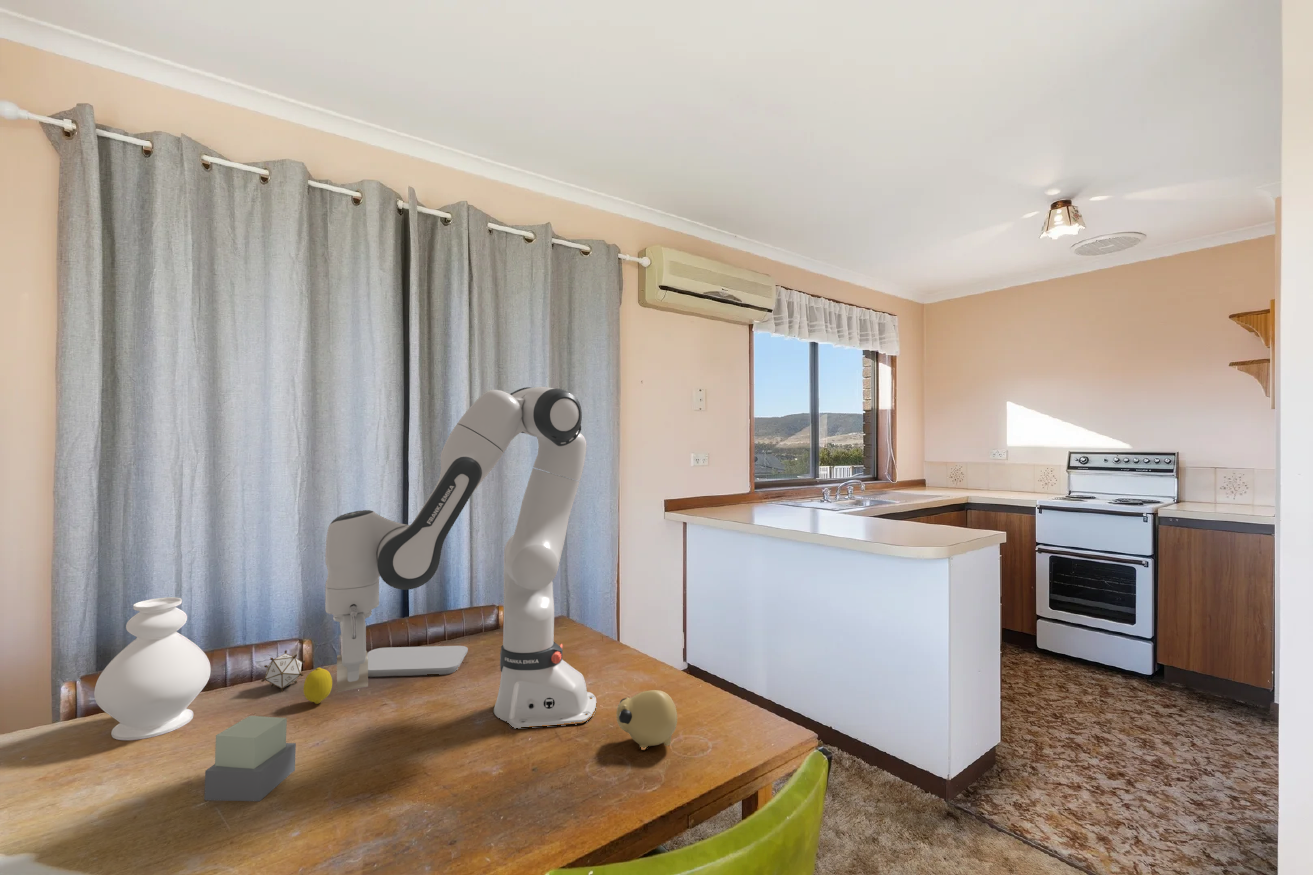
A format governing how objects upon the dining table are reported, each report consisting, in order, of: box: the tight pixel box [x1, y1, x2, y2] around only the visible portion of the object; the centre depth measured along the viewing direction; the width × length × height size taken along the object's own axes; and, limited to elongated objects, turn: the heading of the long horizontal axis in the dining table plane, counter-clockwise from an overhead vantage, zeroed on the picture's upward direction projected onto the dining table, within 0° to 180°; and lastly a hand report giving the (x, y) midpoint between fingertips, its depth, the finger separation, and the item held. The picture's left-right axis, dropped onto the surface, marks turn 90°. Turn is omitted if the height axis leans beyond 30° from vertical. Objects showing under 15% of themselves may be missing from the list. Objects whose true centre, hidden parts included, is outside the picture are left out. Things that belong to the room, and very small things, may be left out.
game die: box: [260, 649, 307, 693], centre depth 135 cm, size 9×8×10 cm
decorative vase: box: [93, 596, 212, 741], centre depth 117 cm, size 18×18×25 cm
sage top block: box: [214, 715, 288, 769], centre depth 97 cm, size 7×7×5 cm
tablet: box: [367, 645, 469, 678], centre depth 151 cm, size 16×26×2 cm, turn 97°
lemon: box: [303, 667, 333, 705], centre depth 127 cm, size 6×6×8 cm
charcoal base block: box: [203, 742, 297, 802], centre depth 97 cm, size 9×9×5 cm
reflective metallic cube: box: [336, 650, 369, 693], centre depth 106 cm, size 5×5×5 cm
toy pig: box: [616, 689, 678, 748], centre depth 113 cm, size 10×12×11 cm
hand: (352, 673), depth 106 cm, fingers closed on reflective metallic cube, 5 cm apart
